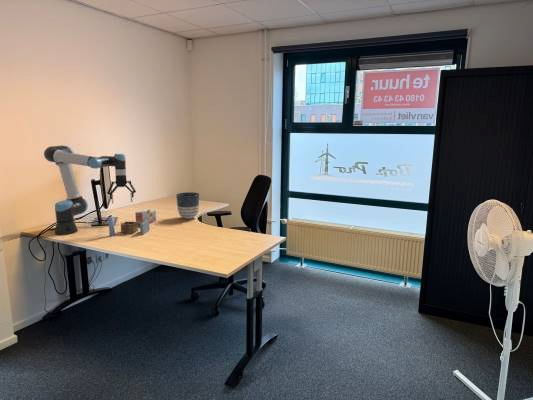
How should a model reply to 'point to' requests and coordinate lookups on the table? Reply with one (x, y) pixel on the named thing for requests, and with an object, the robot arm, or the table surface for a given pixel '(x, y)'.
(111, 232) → the dowel
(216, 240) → the table surface
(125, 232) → the slider block
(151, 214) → the stack of blocks
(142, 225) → the wall
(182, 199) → the planter
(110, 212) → the table surface
